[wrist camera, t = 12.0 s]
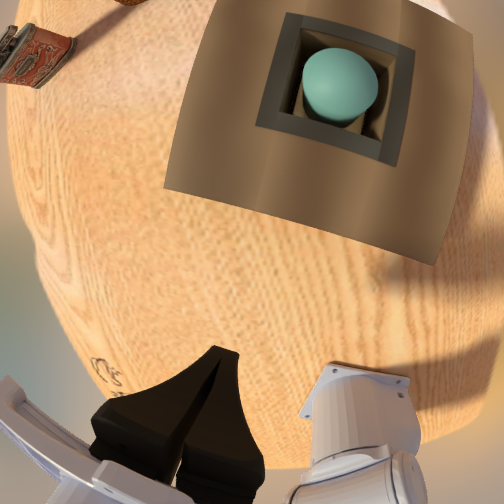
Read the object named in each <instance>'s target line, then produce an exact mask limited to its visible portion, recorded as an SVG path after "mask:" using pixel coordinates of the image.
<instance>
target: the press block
mask: <svg viewBox="0 0 504 504" xmlns="http://www.w3.org/2000/svg"><path fill="white" fill-rule="evenodd" d="M329 48H340V49H346V50H349V51H352V52H354V53H356V54H358V55H359V56H361V57H362V58H363V59H365V60H366V61H367V62H368V63H369V64H370V66H371V67H372V69H373V70H374V72H375V74H376V77H377V80H378V93H377V97H376V99H375V101H374V102H373V104H372V105H371V106H370V107H369V108H368V113H367V117H366V122H365V127H364V131H363V135H360V134H357V133H354V132H351V131H348V130H345V129H342V128H338V127H335V126H332V125H329V124H325V123H322V122H318V121H314V120H311V119H307V118H303V117H299V116H295V115H291V114H290V110H291V106H292V102H293V98H294V94H295V90H296V86H297V82H298V78H299V74H300V70H301V66H302V65H305V64H306V62H307V61H308V60H309V58H310V57H311V56H312V55H314V54H315V53H317V52H319V51H321V50H324V49H329ZM473 82H474V56H473V37H472V34H471V33H469V32H467V31H466V30H464V29H463V28H461V27H459V26H458V25H456V24H454V23H453V22H451V21H449V20H447V19H446V18H444V17H442V16H440V15H438V14H436V13H434V12H432V11H430V10H428V9H426V8H424V7H422V6H420V5H418V4H416V3H413V2H411V1H409V0H217V1H216V3H215V6H214V8H213V11H212V13H211V16H210V18H209V21H208V24H207V26H206V29H205V32H204V35H203V37H202V40H201V43H200V46H199V49H198V52H197V55H196V58H195V61H194V64H193V68H192V71H191V74H190V77H189V81H188V84H187V88H186V91H185V95H184V98H183V102H182V106H181V110H180V114H179V118H178V122H177V126H176V130H175V134H174V139H173V143H172V148H171V152H170V157H169V162H168V167H167V172H166V177H165V183H164V189H169V190H173V191H177V192H181V193H186V194H190V195H194V196H198V197H202V198H206V199H210V200H214V201H218V202H222V203H226V204H230V205H234V206H238V207H242V208H245V209H249V210H253V211H257V212H260V213H264V214H268V215H271V216H275V217H279V218H282V219H286V220H289V221H293V222H296V223H300V224H303V225H307V226H310V227H313V228H317V229H320V230H324V231H327V232H330V233H334V234H337V235H340V236H343V237H347V238H350V239H353V240H356V241H359V242H363V243H366V244H369V245H372V246H375V247H378V248H381V249H384V250H387V251H390V252H393V253H396V254H399V255H402V256H405V257H408V258H411V259H414V260H417V261H420V262H423V263H425V264H428V265H431V266H434V265H435V262H436V260H437V257H438V254H439V252H440V249H441V246H442V243H443V240H444V237H445V234H446V231H447V228H448V225H449V222H450V219H451V215H452V212H453V208H454V205H455V201H456V197H457V193H458V189H459V185H460V181H461V177H462V172H463V167H464V162H465V157H466V151H467V145H468V138H469V131H470V123H471V114H472V102H473Z"/></svg>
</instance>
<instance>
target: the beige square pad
mask: <svg viewBox="0 0 504 504" xmlns="http://www.w3.org/2000/svg"><path fill="white" fill-rule="evenodd" d="M365 112H366V111H365ZM365 112H364V113H363V114H361V115H360V116H359V117H358V118H357V119H356V120H355V121H354V122H353V123H352V124H351V125H349V126H347V127H345V128H342V129H345V130H348V131H351V132H354V133H357V134H361V130H362V125H363V121H364V116H365ZM293 115H295V116H299V117H303V118H307V119H310V118H309V117H308V116H307V114H306V112H305V110H304V107H303V76H302V80H301V84H300V88H299V92H298V96H297V100H296V104H295V108H294V112H293Z"/></svg>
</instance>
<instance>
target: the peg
mask: <svg viewBox="0 0 504 504" xmlns="http://www.w3.org/2000/svg"><path fill="white" fill-rule="evenodd" d="M377 93H378V80H377V77H376V74H375V72H374V70H373V69H372V67H371V66H370V64H369V63H368V62H367V61H366V60H365V59H363V58H362V57H361V56H359V55H358V54H356V53H354V52H352V51H349V50H346V49H340V48H329V49H324V50H321V51H319V52H317V53H315V54H314V55H312V56H311V57H310V58H309V60H308V61H307V62H306V64H305V66H304V69H303V107H304V110H305V112H306V114H307V116H308V117H309V118H310V119H311V120H314V121H318V122H322V123H325V124H329V125H332V126H335V127H338V128H345V127H347V126H349V125H351V124H352V123H353V122H354V121H355V120H356V119H357V118H358V117H359V116H360V115H361V114H363V113H364V112H365V111H366V110H367V109H368V108H369V107H370V106H371V105H372V104H373V102H374V101H375V99H376V97H377Z"/></svg>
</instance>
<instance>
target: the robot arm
mask: <svg viewBox="0 0 504 504" xmlns="http://www.w3.org/2000/svg"><path fill="white" fill-rule="evenodd" d="M239 356H240V355H239V354H238V353H237V352H234V351H231V350H228V349H224V348H221V347H218V346H215V345H214V346H212V347H211V348H210V349H209V350H208V351H207V352H206V353H205V354H204V355H203V356H201V357H200V358H199V359H198V360H197V361H195V362H194V363H193V364H192V365H190V366H189V367H188V368H186V369H185V370H183V371H182V372H180V373H179V374H177V375H176V376H174V377H172V378H171V379H169V380H167V381H165V382H163V383H161V384H159V385H156V386H154V387H152V388H149V389H147V390H144V391H141V392H137V393H134V394H131V395H127V396H122V397H117V398H111V399H109V400H107V401H106V402H105V403H104V404H103V405H102V406H101V407H100V408H99V409H98V410H97V412H96V413H95V414H94V415H93V417H92V418H91V424H92V427H93V430H94V433H95V435H96V439H95V441H94V442H93V443H92V445H91V446H90V445H89V444H87V443H85V442H84V441H82V440H81V439H79V438H78V437H76V436H75V435H73V434H72V433H70V432H69V431H68V430H66V429H65V428H63V427H62V426H60V425H59V424H58V423H57V422H55V421H54V420H53V419H51V418H50V417H49V416H48V415H46V414H45V413H44V412H43V411H41V410H40V409H39V408H38V407H36V406H35V405H34V404H33V403H32V402H31V401H30V400H28V399H27V397H26V394H25V392H24V390H23V389H22V388H21V386H20V385H19V384H18V383H17V382H16V381H14V379H12V378H11V377H10V376H9V375H6V376H5V377H4V378H3V379H2V380H1V381H0V428H1V429H2V430H3V432H4V433H5V434H6V435H7V436H8V437H9V438H10V439H11V440H12V441H13V442H14V443H15V444H16V445H17V446H18V447H19V448H21V450H22V451H23V452H24V453H25V454H26V455H27V456H29V457H30V458H31V459H32V460H33V461H34V462H35V463H36V464H38V466H40V467H41V468H42V469H43V470H44V471H45V472H47V473H48V474H49V475H50V476H51V477H53V478H54V479H55V480H57V481H58V482H59V483H60V484H59V485H58V487H57V488H56V489H55V491H54V492H53V494H52V495H51V496H50V498H49V499H48V501H47V502H46V503H45V504H252V503H253V499H254V498H255V495H256V491H257V490H258V488H259V487H260V486H261V485H262V484H263V482H264V480H265V466H264V459H263V455H262V453H261V452H260V450H259V448H258V447H257V445H256V443H255V441H254V439H253V437H252V434H251V432H250V429H249V427H248V424H247V422H246V419H245V416H244V412H243V409H242V405H241V400H240V394H239V387H238V359H239ZM333 369H337V370H333ZM398 380H399V381H398ZM410 382H411V380H410V378H409V377H403V376H397V375H390V374H384V373H378V372H372V371H367V370H362V369H356V368H351V367H346V366H341V365H337V364H332V363H329V364H327V365H325V367H324V369H323V371H322V373H321V374H320V376H319V378H318V380H317V382H316V384H315V385H314V387H313V389H312V391H311V393H310V394H309V396H308V398H307V400H306V401H305V403H304V405H303V406H302V408H301V410H300V411H299V415H298V416H299V417H300V418H304V419H309V420H312V434H311V456H310V470H309V471H308V472H305V473H302V474H301V483H300V485H297V486H294V487H293V488H291V489H290V490H289V491H288V493H287V494H286V496H285V498H284V501H283V503H282V504H428V498H427V490H426V485H425V481H424V478H423V474H422V471H421V469H420V466H419V464H418V462H417V460H416V458H415V456H416V454H417V452H418V449H419V446H420V440H421V429H420V425H419V421H418V418H417V415H416V412H415V409H414V406H413V403H412V401H411V398H410V395H409V392H408V389H407V387H408V385H409V384H410ZM181 458H182V459H181ZM180 461H181V465H180V467H179V469H178V471H177V468H178V466H179V463H180ZM176 471H177V474H176V487H172V486H171V484H172V481H173V478H174V476H175V473H176Z"/></svg>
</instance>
